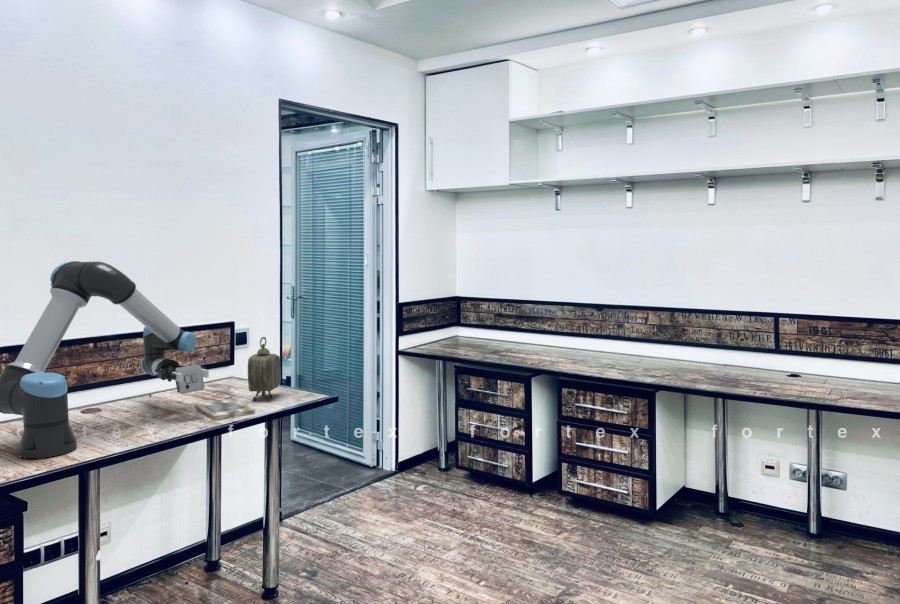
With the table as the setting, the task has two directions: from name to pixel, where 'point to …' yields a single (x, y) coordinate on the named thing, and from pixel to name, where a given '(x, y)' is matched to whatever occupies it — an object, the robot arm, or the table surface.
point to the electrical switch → (190, 379)
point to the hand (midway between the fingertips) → (194, 376)
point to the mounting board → (224, 409)
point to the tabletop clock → (263, 371)
